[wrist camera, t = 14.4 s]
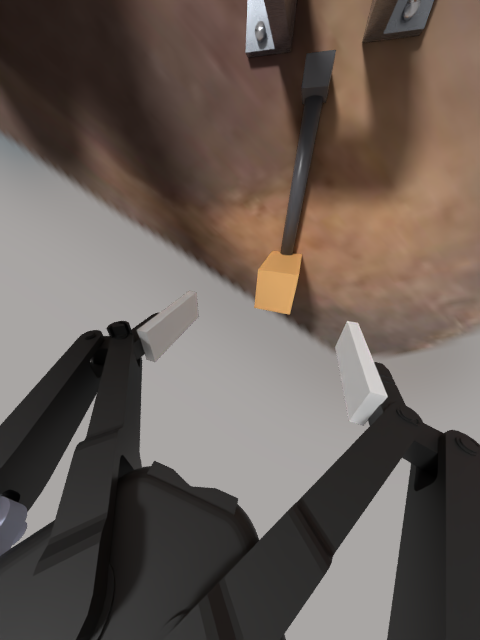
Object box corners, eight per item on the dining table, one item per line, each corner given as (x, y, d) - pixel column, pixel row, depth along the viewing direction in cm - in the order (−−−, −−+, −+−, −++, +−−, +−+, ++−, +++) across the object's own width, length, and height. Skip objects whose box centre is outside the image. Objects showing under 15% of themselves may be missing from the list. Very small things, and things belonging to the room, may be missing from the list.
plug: (267, 286, 32) (253, 314, 24) (296, 76, 19) (287, -16, 11) (293, 290, 31) (288, 321, 23) (343, 71, 18) (370, -35, 10)
